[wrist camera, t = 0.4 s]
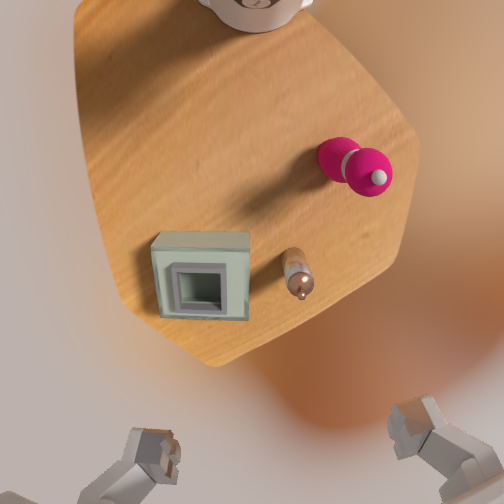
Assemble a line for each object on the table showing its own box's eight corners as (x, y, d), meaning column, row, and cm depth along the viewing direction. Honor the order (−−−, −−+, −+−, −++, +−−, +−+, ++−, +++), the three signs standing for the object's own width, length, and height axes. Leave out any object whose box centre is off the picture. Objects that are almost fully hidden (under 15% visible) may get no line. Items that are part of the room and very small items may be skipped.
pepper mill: (328, 185, 51) (370, 222, 33) (305, 150, 49) (339, 168, 30) (361, 163, 49) (418, 189, 31) (340, 127, 47) (392, 134, 29)
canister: (281, 247, 56) (289, 278, 45) (305, 247, 56) (318, 278, 45) (280, 269, 58) (287, 303, 47) (303, 269, 58) (315, 303, 47)
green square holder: (161, 231, 54) (146, 251, 46) (249, 232, 55) (250, 253, 46) (168, 297, 60) (157, 324, 52) (248, 299, 60) (248, 327, 52)
